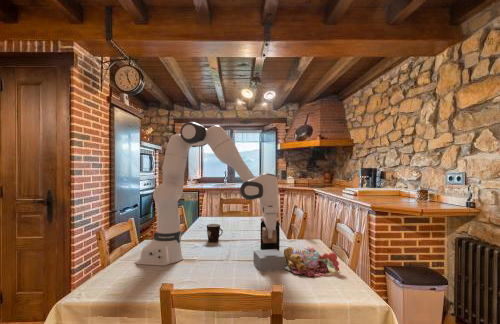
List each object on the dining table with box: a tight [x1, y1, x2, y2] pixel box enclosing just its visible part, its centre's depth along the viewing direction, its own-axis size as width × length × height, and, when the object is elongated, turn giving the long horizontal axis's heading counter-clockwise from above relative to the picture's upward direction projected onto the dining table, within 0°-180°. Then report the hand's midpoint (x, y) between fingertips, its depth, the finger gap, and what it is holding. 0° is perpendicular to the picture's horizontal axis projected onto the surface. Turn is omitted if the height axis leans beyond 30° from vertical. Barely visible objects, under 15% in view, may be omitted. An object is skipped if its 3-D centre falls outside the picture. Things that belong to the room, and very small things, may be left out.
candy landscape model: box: [283, 246, 340, 278], centre depth 132 cm, size 25×24×9 cm
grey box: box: [252, 249, 286, 272], centre depth 134 cm, size 12×12×6 cm
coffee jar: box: [260, 216, 281, 252], centre depth 157 cm, size 11×11×18 cm
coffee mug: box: [206, 223, 224, 243], centre depth 176 cm, size 12×9×10 cm
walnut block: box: [262, 227, 276, 243], centre depth 134 cm, size 6×6×6 cm
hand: (269, 235), depth 134 cm, fingers closed on walnut block, 6 cm apart
